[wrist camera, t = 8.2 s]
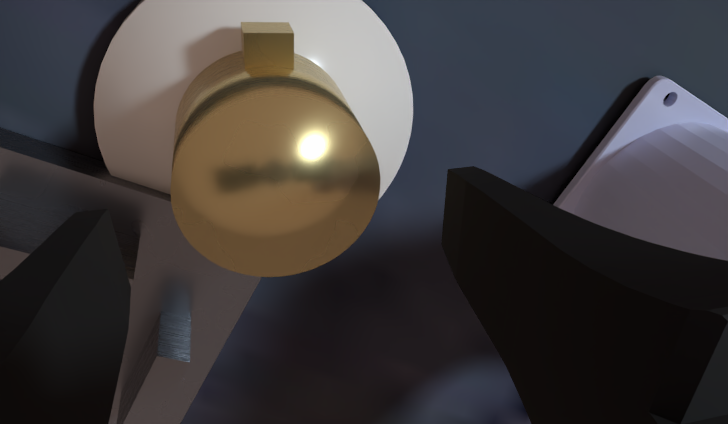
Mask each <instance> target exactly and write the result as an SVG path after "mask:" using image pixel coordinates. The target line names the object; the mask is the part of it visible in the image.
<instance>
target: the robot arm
mask: <svg viewBox="0 0 728 424" xmlns="http://www.w3.org/2000/svg"><path fill="white" fill-rule="evenodd" d="M667 94H669V96H668V98H667V99H666V100H665V101H663V100H664V98H665V96H666V95H667ZM441 244H442V247H443V249H444V252H445V254H446V257H447V260H448V262H449V265H450V267H451V269H452V272H453V274H454V277H455V279H456V281H457V283H458V284H459V286H460V288H461V290H462V291H463V293H464V295H465V296H466V298H467V300H468V302H469V303H470V305H471V307H472V308H473V310H474V312H475V314H476V315H477V317H478V319H479V320H480V322H481V324H482V325H483V327H484V329H485V330H486V332H487V334H488V335H489V337H490V339H491V340H492V342H493V344H494V346H495V347H496V349H497V351H498V352H499V354H500V356H501V358H502V360H503V362H504V363H505V365H506V367H507V369H508V371H509V373H510V376H511V378H512V380H513V382H514V384H515V387H516V389H517V391H518V393H519V396H520V398H521V400H522V402H523V405H524V407H525V409H526V412H527V414H528V416H529V419H530V421H531V424H728V118H726V117H725V116H723V115H722V114H720V113H719V112H717V111H716V110H714V109H713V108H711V107H710V106H708V105H707V104H705V103H704V102H703V101H701V100H700V99H698V98H697V97H695V96H694V95H692V94H691V93H689V92H688V91H686V90H685V89H683V88H682V87H680V86H679V85H677V84H676V83H674V82H673V81H672V80H670V79H668V78H666V77H663V76H655V77H653V78H651V79H650V80H649V81H648V82H647V83H646V84H645V85H644V86H643V88H642V89H641V90H640V91H639V93H638V94H637V95H636V97H635V98H634V99H633V101H632V102H631V103H630V105H629V106H628V107H627V108H626V110H625V111H624V112H623V114H622V115H621V116H620V118H619V119H618V120H617V122H616V123H615V124H614V126H613V127H612V128H611V129H610V131H609V132H608V133H607V135H606V136H605V137H604V139H603V140H602V141H601V143H600V144H599V145H598V147H597V148H596V149H595V150H594V152H593V153H592V154H591V156H590V157H589V158H588V160H587V161H586V162H585V164H584V165H583V166H582V167H581V169H580V170H579V171H578V173H577V174H576V175H575V177H574V178H573V179H572V181H571V182H570V183H569V185H568V186H567V187H566V188H565V190H564V191H563V192H562V194H561V195H560V196H559V198H558V199H557V200H556V202H555V203H554V204H553V205H552V204H550V203H548V202H546V201H544V200H542V199H540V198H538V197H536V196H534V195H532V194H530V193H528V192H526V191H524V190H522V189H520V188H518V187H516V186H514V185H512V184H510V183H508V182H506V181H504V180H502V179H500V178H498V177H496V176H494V175H492V174H490V173H488V172H486V171H484V170H482V169H479V168H477V167H474V166H472V167H464V168H455V169H448V174H447V185H446V197H445V209H444V220H443V232H442V243H441ZM130 297H131V286H130V283H129V279H128V276H127V272H126V269H125V265H124V262H123V258H122V255H121V252H120V248H119V245H118V241H117V238H116V234H115V231H114V227H113V224H112V221H111V217H110V214H109V210H108V209H101V210H92V211H83V212H76V213H74V214H73V215H72V216H71V217H70V218H68V219H67V220H66V221H65V222H64V223H63V224H62V225H61V226H60V227H59V228H58V229H56V230H55V231H54V232H53V233H52V234H51V235H50V236H49V237H48V238H47V239H46V240H45V241H44V242H43V243H42V244H41V245H40V246H39V247H37V248H36V249H35V250H34V251H33V252H32V253H31V254H30V255H29V256H28V257H27V258H26V259H25V260H23V261H22V262H21V263H20V264H19V265H18V266H17V267H16V268H15V269H14V270H13V271H11V272H10V273H9V274H8V275H7V276H5V277H4V278H3V279H2V280H1V281H0V424H109V419H110V414H111V410H112V405H113V401H114V396H115V391H116V387H117V382H118V377H119V373H120V368H121V364H122V359H123V354H124V349H125V344H126V339H127V334H128V329H129V315H130Z"/></svg>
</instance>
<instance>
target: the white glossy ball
mask: <svg viewBox="0 0 728 424" xmlns="http://www.w3.org/2000/svg"><path fill="white" fill-rule="evenodd" d="M241 22H289V24H290V26H291V28H292V30H293V32H294V53H295V54H298V55H301V56H303V57H305V58H307V59H309V60H311V61H312V62H314V63H315V64H317V65H318V66H320V67H321V68H322V69H323V70H324V71H325V72H326V73H328V75H329V76H330V77H331V78H332V79H333V80H334V82H335V83H336V84H337V86H338V88H339V89H340V91H341V92H342V94H343V96H344V98H345V99H346V101H347V103H348V105H349V106H350V108H351V110H352V111H353V113H354V115H355V117H356V118H357V120H358V122H359V124H360V125H361V127H362V129H363V131H364V132H365V134H366V136H367V138H368V139H369V141H370V143H371V145H372V147H373V149H374V151H375V154H376V156H377V160H378V164H379V169H380V177H381V178H380V193H379V199H380V197H381V196H382V195H383V194H384V192H385V191H386V189H387V188H388V187H389V185H390V184H391V182H392V181H393V179H394V177H395V175H396V173H397V171H398V170H399V168H400V166H401V163H402V161H403V158H404V156H405V153H406V150H407V147H408V143H409V139H410V135H411V128H412V119H413V96H412V89H411V83H410V77H409V74H408V71H407V67H406V64H405V61H404V58H403V56H402V54H401V52H400V50H399V47H398V45H397V43H396V41H395V40H394V38H393V37H392V35H391V33H390V32H389V30H388V29H387V27H386V26H385V24H384V23H383V22H382V21H381V20H380V19H379V17H378V16H377V15H376V14H375V13H374V12H373V10H372V9H371V8H370V7H369V6H368V5H367V4H365V3H364V2H363V1H362V0H141V1H140V2H139V3H138V5H137V6H136V7H135V8H134V9H133V10H132V11H131V12H130V14H129V15H128V16H127V17H126V18H125V19H124V21H123V23H122V24H121V26H120V27H119V29H118V30H117V32H116V33H115V35H114V37H113V39H112V41H111V43H110V45H109V47H108V50H107V52H106V54H105V56H104V59H103V61H102V63H101V67H100V71H99V74H98V78H97V82H96V87H95V97H94V123H95V130H96V135H97V140H98V145H99V148H100V151H101V154H102V156H103V159H104V162H105V165H106V167H107V169H108V170H109V172H110V174H111V175H112V176H115V177H118V178H121V179H124V180H127V181H130V182H134V183H137V184H140V185H143V186H146V187H149V188H152V189H155V190H158V191H161V192H164V193H167V194H170V195H171V192H170V188H171V174H172V161H173V147H174V134H175V122H176V115H177V111H178V107H179V104H180V101H181V99H182V97H183V95H184V93H185V91H186V90H187V88H188V86H189V85H190V83H191V82H192V81H193V80H194V79H195V78H196V76H197V75H198V74H199V73H201V72H202V71H203V70H204V69H205V68H206V67H208V66H209V65H210V64H212V63H213V62H215V61H216V60H218V59H220V58H222V57H225V56H227V55H229V54H232V53H235V52H238V51H242V42H241ZM379 199H378V200H379Z"/></svg>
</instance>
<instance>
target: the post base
mask: <svg viewBox="0 0 728 424" xmlns="http://www.w3.org/2000/svg"><path fill="white" fill-rule="evenodd" d="M101 209H108V210H109V214H110V217H111V221H112V224H113V227H114V231H115V234H116V238H117V241H118V245H119V248H120V252H121V255H122V258H123V262H124V265H125V269H126V272H127V276H128V279H129V283H130V286H131V297H130V315H129V329H128V334H127V339H126V344H125V349H124V354H123V359H122V364H121V368H120V373H119V377H118V382H117V387H116V391H115V396H114V401H113V405H112V410H111V414H110V419H109V424H180V423H181V421H182V419H183V418H184V416H185V414H186V412H187V410H188V409H189V407H190V405H191V403H192V401H193V400H194V398H195V396H196V394H197V393H198V391H199V389H200V387H201V385H202V384H203V382H204V380H205V378H206V376H207V375H208V373H209V371H210V369H211V367H212V366H213V364H214V362H215V360H216V358H217V357H218V355H219V353H220V351H221V349H222V348H223V346H224V344H225V342H226V340H227V339H228V337H229V335H230V333H231V331H232V330H233V328H234V326H235V324H236V322H237V321H238V319H239V317H240V315H241V314H242V312H243V310H244V308H245V306H246V305H247V303H248V301H249V299H250V297H251V296H252V294H253V292H254V290H255V288H256V287H257V285H258V283H259V281H260V279H261V278H262V277H258V276H251V275H245V274H241V273H237V272H234V271H231V270H228V269H226V268H223V267H221V266H219V265H217V264H215V263H213V262H212V261H210V260H208V259H207V258H206V257H204V256H203V255H202V254H200V253H199V252H198V251H197V250H196V249H195V248H194V247H193V246H192V245H191V244H190V243H189V241H188V240H187V239H186V238H185V236H184V235H183V233H182V231H181V230H180V228H179V226H178V224H177V222H176V219H175V216H174V214H173V209H172V204H171V195H170V194H167V193H164V192H161V191H158V190H155V189H152V188H149V187H146V186H143V185H140V184H137V183H134V182H130V181H127V180H124V179H121V178H118V177H115V176H112V175H111V174H110V172H109V170H108V169H107V167H106V165H105V162H102V161H99V160H96V159H93V158H90V157H87V156H84V155H81V154H78V153H75V152H72V151H69V150H66V149H63V148H60V147H57V146H54V145H51V144H48V143H45V142H42V141H39V140H36V139H33V138H30V137H27V136H24V135H21V134H18V133H15V132H12V131H9V130H6V129H3V128H0V281H1V280H2V279H3V278H4V277H5V276H7V275H8V274H9V273H10V272H11V271H13V270H14V269H15V268H16V267H17V266H18V265H19V264H20V263H21V262H22V261H23V260H25V259H26V258H27V257H28V256H29V255H30V254H31V253H32V252H33V251H34V250H35V249H36V248H37V247H39V246H40V245H41V244H42V243H43V242H44V241H45V240H46V239H47V238H48V237H49V236H50V235H51V234H52V233H53V232H54V231H55V230H56V229H58V228H59V227H60V226H61V225H62V224H63V223H64V222H65V221H66V220H67V219H68V218H70V217H71V216H72V215H73V214H74V213H76V212H83V211H92V210H101Z"/></svg>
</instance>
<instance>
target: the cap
mask: <svg viewBox="0 0 728 424" xmlns="http://www.w3.org/2000/svg"><path fill="white" fill-rule="evenodd" d="M241 42H242V51H238V52H235V53H232V54H229V55H227V56H225V57H222V58H220V59H218V60H216V61H215V62H213V63H212V64H210V65H209V66H208V67H206V68H205V69H204V70H203V71H202V72H201V73H199V74H198V75H197V76H196V78H195V79H194V80H193V81H192V82H191V83H190V85H189V86H188V88H187V90H186V91H185V93H184V95H183V97H182V99H181V101H180V104H179V107H178V111H177V115H176V122H175V134H174V147H173V161H172V174H171V188H170V192H171V204H172V209H173V214H174V216H175V219H176V222H177V224H178V226H179V228H180V230H181V231H182V233H183V235H184V236H185V238H186V239H187V240H188V241H189V243H190V244H191V245H192V246H193V247H194V248H195V249H196V250H197V251H198V252H199V253H200V254H202V255H203V256H204V257H206V258H207V259H208V260H210V261H212V262H213V263H215V264H217V265H219V266H221V267H223V268H226V269H228V270H231V271H234V272H237V273H241V274H245V275H251V276H258V277H281V276H288V275H294V274H298V273H302V272H306V271H308V270H311V269H314V268H317V267H319V266H321V265H323V264H325V263H327V262H329V261H331V260H332V259H334V258H335V257H337V256H339V255H340V254H341V253H342V252H344V251H345V250H346V249H348V248H349V247H350V246H351V245H352V244H353V243H354V242H355V241H356V240H357V239H358V237H359V236H360V235H361V234H362V232H363V231H364V230H365V228H366V227H367V225H368V223H369V222H370V220H371V218H372V216H373V214H374V211H375V209H376V206H377V202H378V199H379V193H380V178H381V177H380V169H379V164H378V160H377V156H376V154H375V151H374V149H373V147H372V145H371V143H370V141H369V139H368V138H367V136H366V134H365V132H364V131H363V129H362V127H361V125H360V124H359V122H358V120H357V118H356V117H355V115H354V113H353V111H352V110H351V108H350V106H349V105H348V103H347V101H346V99H345V98H344V96H343V94H342V92H341V91H340V89H339V88H338V86H337V84H336V83H335V82H334V80H333V79H332V78H331V77H330V76H329V75H328V73H326V72H325V71H324V70H323V69H322V68H321V67H320V66H318V65H317V64H315V63H314V62H312V61H311V60H309V59H307V58H305V57H303V56H301V55H298V54H295V53H294V32H293V30H292V28H291V26H290V24H289V22H241Z"/></svg>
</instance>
